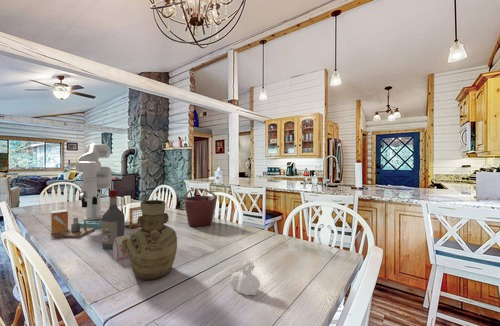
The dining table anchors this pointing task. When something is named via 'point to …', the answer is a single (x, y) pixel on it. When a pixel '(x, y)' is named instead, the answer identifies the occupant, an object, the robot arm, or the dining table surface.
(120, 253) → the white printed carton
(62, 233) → the post base
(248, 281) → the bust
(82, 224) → the keyed plate
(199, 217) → the bucket
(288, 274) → the dining table surface
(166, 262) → the ceramic vessel
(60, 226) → the small box
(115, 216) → the liquor
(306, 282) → the dining table surface
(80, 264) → the dining table surface
